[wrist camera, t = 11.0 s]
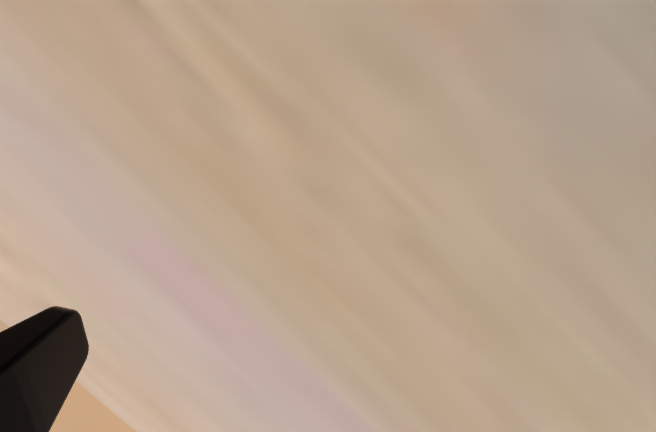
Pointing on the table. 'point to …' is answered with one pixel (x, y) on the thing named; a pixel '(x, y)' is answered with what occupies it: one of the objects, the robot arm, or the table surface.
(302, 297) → the table surface
